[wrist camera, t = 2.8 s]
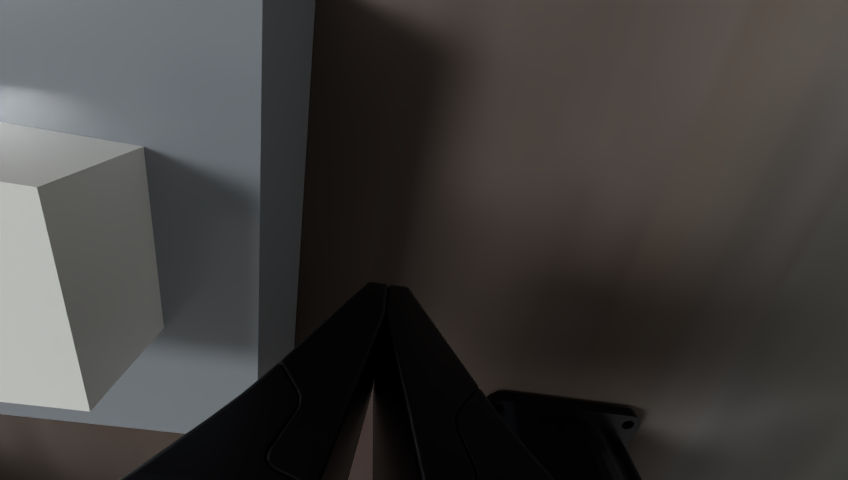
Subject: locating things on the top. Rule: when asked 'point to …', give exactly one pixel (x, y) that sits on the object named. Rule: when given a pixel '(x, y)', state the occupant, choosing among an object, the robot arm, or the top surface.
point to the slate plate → (184, 174)
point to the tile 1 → (73, 266)
